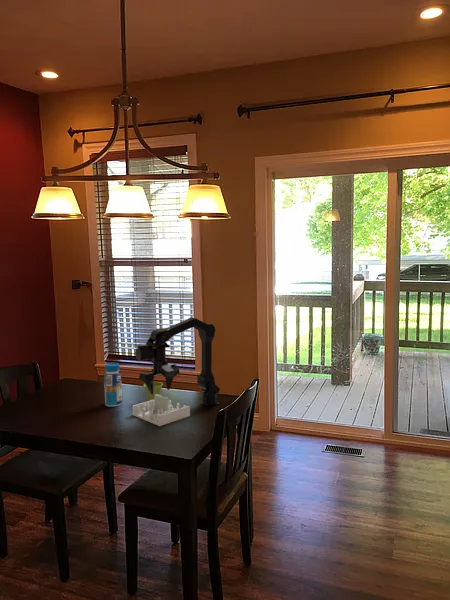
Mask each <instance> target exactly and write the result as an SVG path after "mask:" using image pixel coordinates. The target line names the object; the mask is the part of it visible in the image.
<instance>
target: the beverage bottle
mask: <svg viewBox="0 0 450 600" xmlns="http://www.w3.org/2000/svg"><path fill="white" fill-rule="evenodd" d="M104 371H105V375H104V376H103V379H104V381H103V386H104V404H105V406H106V407H111V408H112V407H119V406H121V405H122V404H123V394H122V393H123V392H122V389H123V388H122V384H123V383H122V380H121V379H122V376H121V373H120V372H119V371H120V364H119V362H108V363H106V364H105V365H104Z"/></svg>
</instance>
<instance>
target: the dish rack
mask: <svg viewBox="0 0 450 600" xmlns="http://www.w3.org/2000/svg"><path fill="white" fill-rule="evenodd" d="M190 409H191V408H190V405H186V404H185V405H184V404H183V405H182V407H181V408H180V403H179V402H177V403H176V408H175V407H173V404H172V400H171V399H168V410H167V413H166V411H164V414H163V408H160V409H157V413H156V412H155V403H154V400H150V401H148V400H147V401H144V402H140V403H137V404H134V405H132V416H134V417H137V418H139V419H141V420H144V421H145V422H149V423H151V424H153V425H156V426H158V427H161V426H164V425H167V424H171V423H173V422H176V421H179V420H182V419H185V418H189V417H190V416H191V410H190Z"/></svg>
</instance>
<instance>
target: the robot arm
mask: <svg viewBox="0 0 450 600" xmlns="http://www.w3.org/2000/svg"><path fill="white" fill-rule="evenodd" d="M215 326H216V325H214V324H213V323H209V322H208V323H207V322H204V321H201V320H200V319H198V318H197V317H192V316H191V317H188V318H187V319H185V320H183V321H180V322H178V323H176V324H172V325H170V326H168V327H162V328H156V329H154V330H152V331H151V333H150V336H149V338H148V339H147V341H146V343H145V344H140V345H137V347H136V349H135V358H136V361H137V362H141V361H142V362H143V361H148V360H150V363H152V368H151V372H150V371H143V372H140V373H139V375H138V376H139V378H138V379H139V380H140V381H141V382H144V384H146V385H147V387H148V389H149V391H150V393H151V394H153V383H154V382H156V380H154V379H155V377H158V376H159V377H160V376H163V377H164V378H165V385H166V389H167V391H169V390H170V388H171V385H172V383H173V380H174V378H175V377H177V376H178V374H179V375H180V368H179V367H178V365H177V364H176V363H173V364H169V361H168V359H166V358H167V357H166V353H167V352H166V348H167V349H168V348H170V345H169V344H168V341H169V340H171V338H172V337H174V336H176V335H179V334H181V333H183V332H185V331H187V330H190V329H191V328H193V329H195V330H197V333H198V336H199V339H200V342H201V370H200V374H197V375H196V377H197V378H196V379H197V380H196V383H197V385H198V387H199V388H200V389H201V391H203V395H202V402H201V405H203V406H205V407H210V408H211V407H213V406H217V405H220V402H218V394H220V391H221V389H220V387H219V386H218V385H217V384H216V381H215V380H216V379H215V375H214V374H213V371H212V370H213V369H212V365H213V363H212V361H213V360H212V357H213V356H212V355H213V353H212V352H213V351H212V350H213V349H212V348H213V347H212V345H213V340H214V338H215V335H216V327H215Z"/></svg>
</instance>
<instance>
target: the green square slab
mask: <svg viewBox="0 0 450 600" xmlns="http://www.w3.org/2000/svg"><path fill="white" fill-rule="evenodd" d="M168 401H169V398H168V397H167V396H164V395H162V394H161V395H158V394H156V395H154V403H155V412H156V413H157V409H160V408H163V414H164V411H166V413H167V410H168V406H169V404H168Z"/></svg>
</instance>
